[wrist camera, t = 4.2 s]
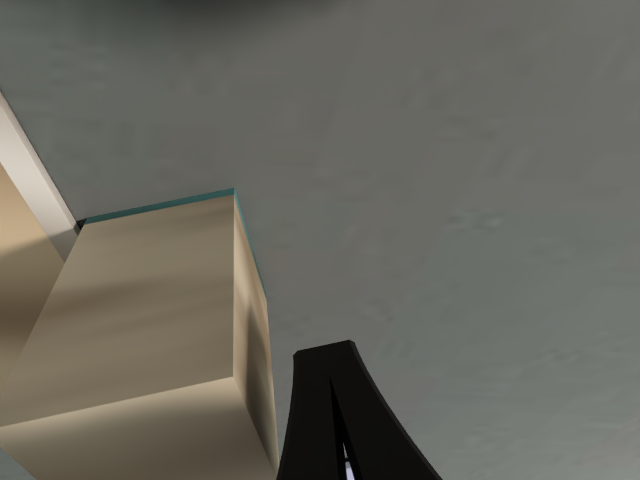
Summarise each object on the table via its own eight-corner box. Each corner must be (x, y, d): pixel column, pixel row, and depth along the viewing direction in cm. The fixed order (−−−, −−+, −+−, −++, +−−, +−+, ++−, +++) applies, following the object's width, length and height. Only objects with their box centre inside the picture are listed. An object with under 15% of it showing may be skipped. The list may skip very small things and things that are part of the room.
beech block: (265, 293, 16) (281, 489, 11) (143, 319, 16) (95, 531, 11) (234, 187, 14) (233, 376, 8) (87, 217, 14) (-18, 430, 8)
